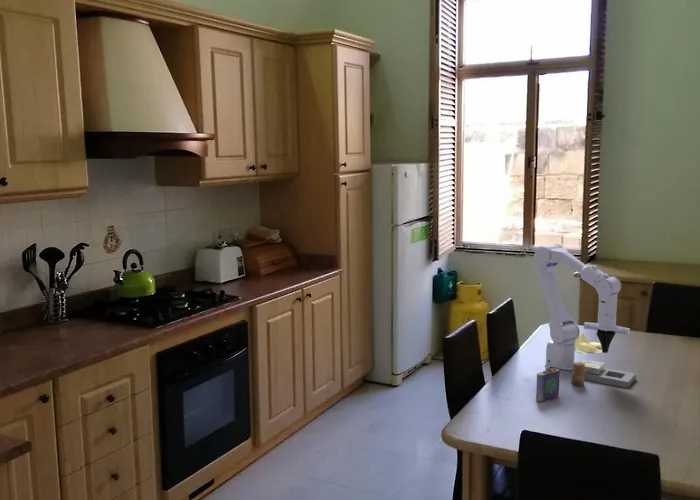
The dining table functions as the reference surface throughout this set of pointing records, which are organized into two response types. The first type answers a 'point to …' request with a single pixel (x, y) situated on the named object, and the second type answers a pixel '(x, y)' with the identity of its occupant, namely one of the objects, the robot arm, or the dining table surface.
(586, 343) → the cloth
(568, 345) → the robot arm
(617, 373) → the grey flat frame
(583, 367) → the pin
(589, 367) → the sliding cover
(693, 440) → the dining table surface
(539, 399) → the flask
